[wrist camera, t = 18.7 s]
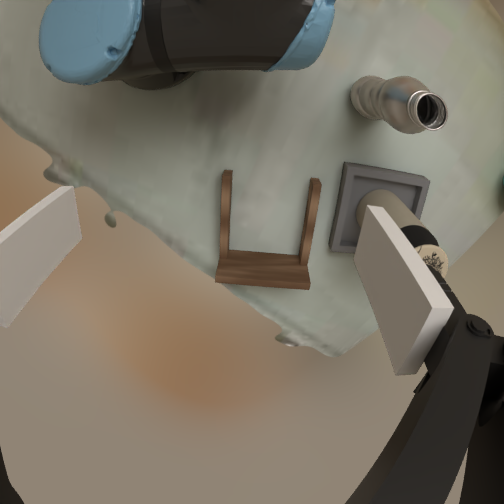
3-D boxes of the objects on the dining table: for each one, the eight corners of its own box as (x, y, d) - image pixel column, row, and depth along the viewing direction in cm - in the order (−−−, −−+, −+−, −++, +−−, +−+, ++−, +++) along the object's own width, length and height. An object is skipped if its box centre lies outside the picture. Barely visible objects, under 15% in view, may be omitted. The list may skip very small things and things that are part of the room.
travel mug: (408, 205, 47) (461, 263, 32) (380, 240, 51) (419, 309, 36) (375, 179, 46) (424, 231, 30) (346, 217, 49) (378, 284, 34)
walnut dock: (224, 169, 47) (217, 186, 40) (318, 178, 47) (327, 196, 40) (221, 255, 55) (215, 282, 48) (304, 261, 55) (309, 289, 48)
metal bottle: (373, 126, 42) (436, 160, 25) (338, 99, 41) (387, 114, 23) (396, 94, 39) (470, 111, 22) (361, 66, 38) (424, 62, 20)
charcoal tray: (344, 161, 45) (347, 166, 43) (423, 176, 45) (430, 181, 43) (328, 243, 53) (331, 251, 51) (402, 250, 53) (407, 258, 51)
